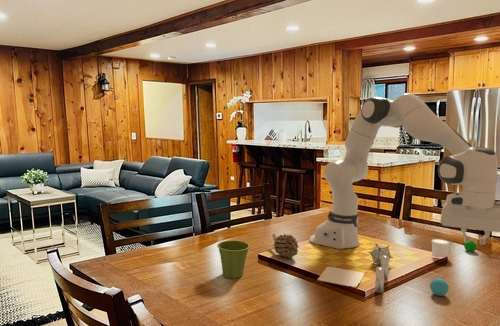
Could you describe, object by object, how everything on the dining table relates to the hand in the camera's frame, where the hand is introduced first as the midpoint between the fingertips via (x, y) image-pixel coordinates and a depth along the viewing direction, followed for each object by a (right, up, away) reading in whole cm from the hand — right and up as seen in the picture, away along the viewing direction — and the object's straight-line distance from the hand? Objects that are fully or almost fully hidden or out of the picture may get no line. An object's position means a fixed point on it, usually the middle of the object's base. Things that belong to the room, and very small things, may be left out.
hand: (474, 242), depth 125 cm
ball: (-8, -16, +6) cm, 19 cm away
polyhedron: (+26, -14, +49) cm, 57 cm away
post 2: (-22, -17, +19) cm, 34 cm away
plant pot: (-77, -16, +20) cm, 81 cm away
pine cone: (-57, -14, +43) cm, 73 cm away
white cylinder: (+9, -15, +41) cm, 44 cm away
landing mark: (-37, -16, +20) cm, 45 cm away
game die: (-19, -15, +32) cm, 40 cm away
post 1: (-27, -18, +8) cm, 34 cm away
